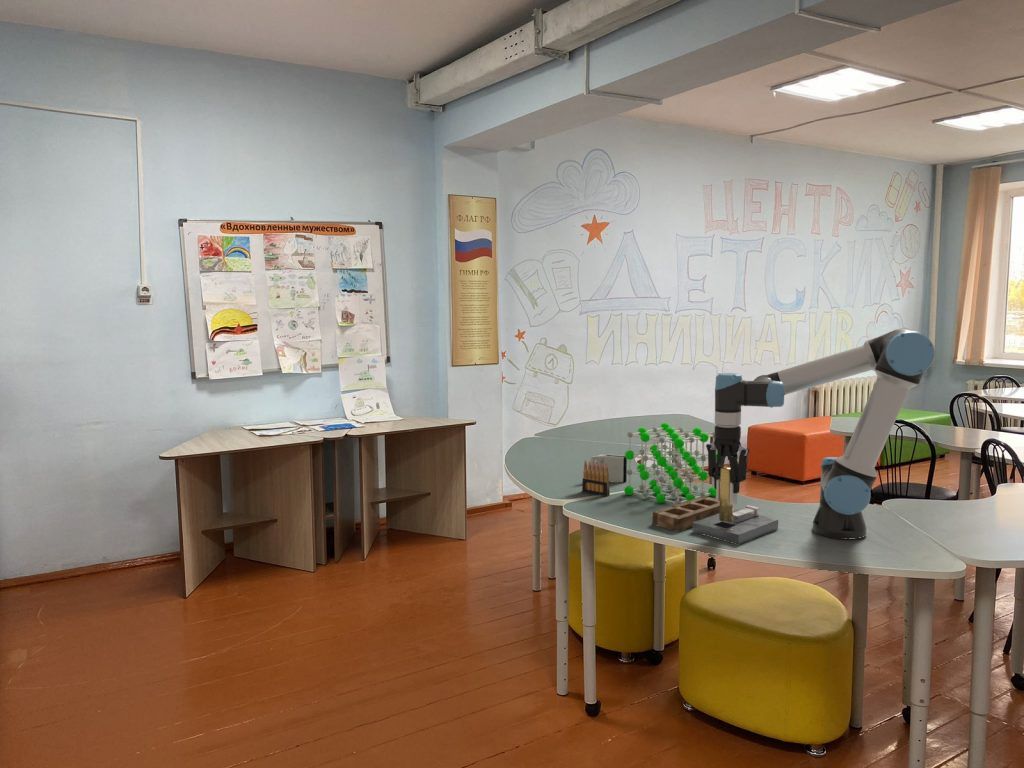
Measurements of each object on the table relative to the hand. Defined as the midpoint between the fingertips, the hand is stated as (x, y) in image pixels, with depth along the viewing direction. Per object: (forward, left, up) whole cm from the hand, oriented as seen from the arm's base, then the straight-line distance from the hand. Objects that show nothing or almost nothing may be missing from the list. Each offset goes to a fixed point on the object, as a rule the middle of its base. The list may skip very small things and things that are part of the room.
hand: (726, 501), depth 227 cm
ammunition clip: (+58, -6, -11) cm, 60 cm away
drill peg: (0, 0, -6) cm, 6 cm away
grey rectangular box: (+67, -23, -11) cm, 72 cm away
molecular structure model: (+38, -24, -11) cm, 46 cm away
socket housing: (0, -6, -10) cm, 12 cm away
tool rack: (+16, -6, -10) cm, 20 cm away
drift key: (0, -10, -7) cm, 13 cm away
